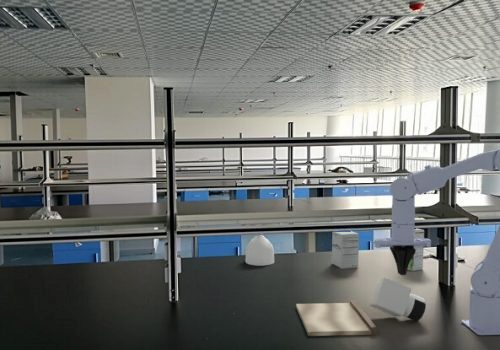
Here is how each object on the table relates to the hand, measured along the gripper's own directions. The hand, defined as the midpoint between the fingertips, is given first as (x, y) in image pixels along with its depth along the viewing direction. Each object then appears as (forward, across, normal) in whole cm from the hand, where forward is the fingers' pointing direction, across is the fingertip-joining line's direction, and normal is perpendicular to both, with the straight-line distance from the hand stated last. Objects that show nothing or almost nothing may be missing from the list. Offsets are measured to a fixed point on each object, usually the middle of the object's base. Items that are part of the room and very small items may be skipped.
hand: (401, 273), depth 115 cm
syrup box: (+10, -20, -40) cm, 46 cm away
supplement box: (+10, +2, -46) cm, 47 cm away
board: (+10, +19, +4) cm, 22 cm away
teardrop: (+10, +33, -53) cm, 63 cm away
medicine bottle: (+3, +8, +4) cm, 10 cm away
